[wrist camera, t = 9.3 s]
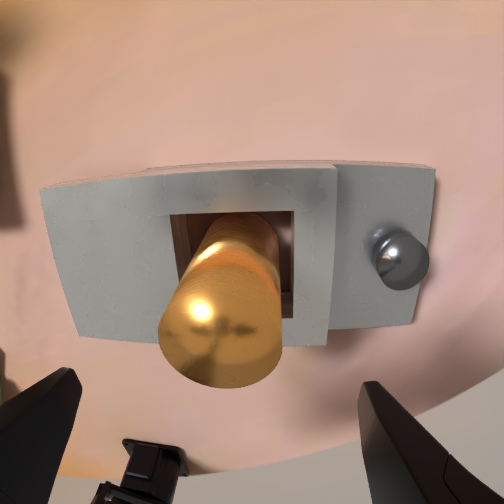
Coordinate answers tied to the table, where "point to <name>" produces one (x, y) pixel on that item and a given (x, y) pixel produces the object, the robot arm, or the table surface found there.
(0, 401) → the handheld radio
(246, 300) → the gold metallic cylinder
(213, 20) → the table surface
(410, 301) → the grey panel with knob
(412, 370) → the table surface
